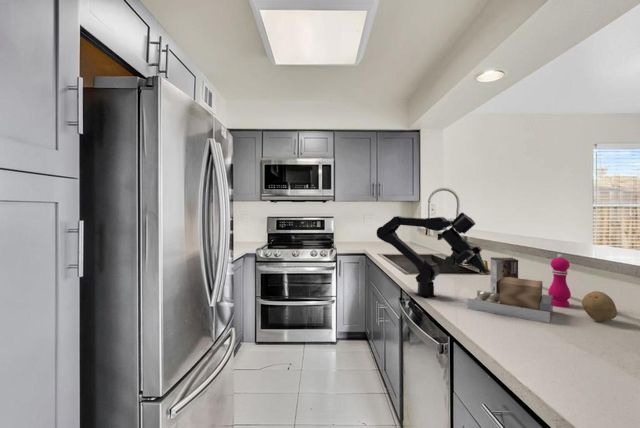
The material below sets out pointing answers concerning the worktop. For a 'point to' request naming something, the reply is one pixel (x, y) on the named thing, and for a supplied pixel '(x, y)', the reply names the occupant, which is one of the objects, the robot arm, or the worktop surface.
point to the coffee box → (502, 271)
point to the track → (512, 307)
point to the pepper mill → (559, 282)
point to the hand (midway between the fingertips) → (485, 271)
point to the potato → (599, 306)
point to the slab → (521, 292)
